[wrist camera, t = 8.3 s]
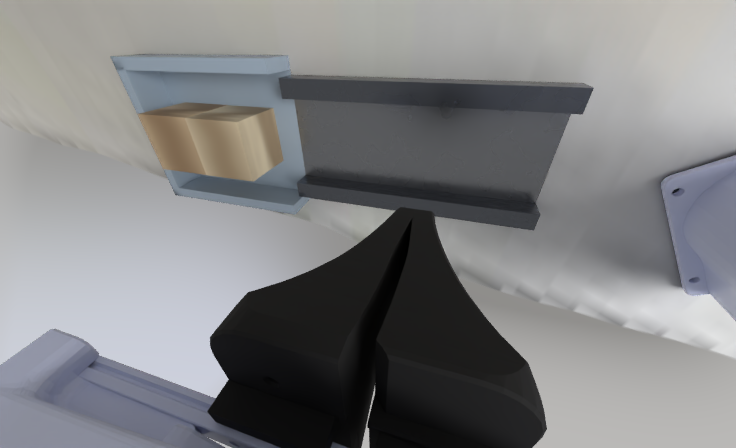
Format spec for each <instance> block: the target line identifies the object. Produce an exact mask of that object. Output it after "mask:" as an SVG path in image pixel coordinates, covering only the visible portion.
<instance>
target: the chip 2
mask: <svg viewBox="0 0 736 448" xmlns="http://www.w3.org/2000/svg"><path fill="white" fill-rule="evenodd" d="M185 120H186V123H187V125H188V128H189V131H190V133H191V136H192V139H193V141H194V144H195V147H196V149H197V152H198V155H199V157H200V160H201V162H202V165H203V168H204V170H205V173H206V175H209V176H216V177H223V178H231V179H238V180H245V181H253V182H254V181H255V180H256V179H258V178H259V177H261V176H262V175H264V174H265V173H266V172H268V171H269V170H271V169H272V168H274V167H275V166H276V165H278V164H279V163H281V162H282V161H284V160H283V155H282V150H281V144H280V139H279V134H278V129H277V124H276V119H275V114H274V109H273V108H266V107H249V106H233V105H226V106H223V107H220V108H216V109H213V110H210V111H206V112H203V113H200V114H196V115H193V116H190V117H186V118H185Z"/></svg>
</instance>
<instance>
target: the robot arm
mask: <svg viewBox="0 0 736 448" xmlns="http://www.w3.org/2000/svg"><path fill="white" fill-rule="evenodd" d="M678 188H680V190H679V191H678V192H676V193H672V192H673V191H674V190H675V189H678ZM661 190H662V194H663V199H664V204H665V208H666V213H667V218H668V222H669V227H670V232H671V236H672V241H673V246H674V250H675V255H676V260H677V264H678V269H679V274H680V278H681V283H682V288H683V290H684V291H685V292H686V293H687V294H688V295H692V296H698V295H705V294H711V295H712V296H713V297H714V298H715V299H716V301H717V302H718V303H719V304H720V305H721V306H722V307H723V308H724V309H725V310H726V311H727V312H728V313H729V314H730V315H731V317H732V318H733V319H734V320H735V321H736V155H734V156H731V157H728V158H725V159H721V160H718V161H715V162H712V163H708V164H705V165H702V166H699V167H696V168H692V169H689V170H686V171H683V172H679V173H676V174H673V175H670V176H668V177H666V178H665V179H664V180H663V181H662V182H661ZM434 215H435V214H434V213H433V212H432V211H426V210H419V209H412V208H405V207H400V208H398V209H397V210H396V211H395V212H394V213H393V214H392V215H391V216H390V217H389V218H388V219H387V220H386V221H385V222H384V223H383V224H382V225H381V226H379V227H378V228H377V229H376V230H375V231H374V232H373V233H371V234H370V235H369V236H368V237H366V238H365V239H364V240H362V241H361V242H360V243H358V244H357V245H356V246H354V247H353V248H351V249H350V250H348V251H347V252H345V253H344V254H342V255H340V256H339V257H337V258H335V259H333V260H331V261H329V262H327V263H325V264H323V265H321V266H319V267H317V268H315V269H313V270H311V271H309V272H306V273H304V274H301V275H299V276H296V277H294V278H292V279H289V280H286V281H283V282H281V283H277V284H274V285H271V286H267V287H264V288H261V289H258V290H255V291H251V292H248V293H247V294H246V295H245V296H244V298H243V299H242V300H241V301H240V302H239V303H238V304H237V305H236V306H235V307H234V309H233V310H232V311H231V312H230V313H229V315H228V316H227V317H226V318H225V320H224V321H223V322H222V323H221V325H220V326H219V327H218V328H217V329H216V330H215V332H214V333H213V334H212V336H211V337H210V346H211V349H212V352H213V354H214V356H215V358H216V359H217V361H218V363H219V364H220V366H221V367H222V369H223V371H224V372H225V374H226V376H227V377H228V379H229V380H228V382H227V383H226V385H225V386H224V388H223V389H222V390H221V392H220V394H219V395H218V396H217V398H213V397H210V396H207V395H205V394H202V393H199V392H196V391H194V390H191V389H188V388H186V387H183V386H180V385H178V384H175V383H172V382H169V381H167V380H164V379H161V378H159V377H156V376H153V375H151V374H148V373H145V372H143V371H140V370H137V369H134V368H132V367H129V366H126V365H124V364H121V363H118V362H116V361H113V360H110V359H107V358H104V357H102V356H99V353H98V352H97V351H96V349H94V348H93V347H92V346H91V345H90V344H89V343H87V342H86V341H84V340H83V339H80V338H79V337H76V336H73V335H70V334H68V333H65V332H62V331H59V330H56V329H51V330H49V331H48V332H46V333H45V334H43V335H42V336H41V337H39V338H38V339H36V340H35V341H34V342H32V343H31V344H30V345H28V346H27V347H25V348H24V349H22V350H21V351H20V352H18V353H17V354H15V355H14V356H13V357H11V358H10V359H8V360H7V361H6V362H4V363H3V364H1V365H0V448H225V447H223V446H221V445H220V444H218V443H216V442H214V441H213V440H215V441H218V442H220V443H223V444H225V445H227V446H230V447H232V448H361V446H362V441H363V437H364V432H365V428H366V423H367V418H368V413H369V409H370V405H371V400H372V395H373V391H374V386H375V396H374V400H373V404H372V409H371V412H370V416H369V420H368V428H369V441H370V448H532V447H533V446H534V445H535V444H536V443H537V442H538V441H539V440H540V439H541V438H542V437H543V435H544V433H545V431H546V429H547V427H546V421H545V414H544V408H543V405H542V401H541V398H540V395H539V392H538V389H537V386H536V383H535V380H534V378H533V375H532V372H531V369H530V367H529V364H528V363H527V361H526V360H525V359H524V358H523V357H521V355H520V354H519V353H518V352H517V351H516V350H515V349H514V348H513V347H512V346H511V345H510V344H509V343H508V342H507V341H506V340H505V339H504V338H503V337H502V336H501V335H500V334H499V333H498V332H497V330H496V329H495V328H494V327H493V326H492V325H491V323H490V322H489V321H488V320H487V319H486V317H485V316H484V315H483V313H482V312H481V311H480V309H479V308H478V307H477V305H476V304H475V303H474V302H473V300H472V299H471V298H470V296H469V295H468V293H467V292H466V290H465V289H464V287H463V286H462V284H461V283H460V281H459V279H458V277H457V276H456V274H455V272H454V270H453V269H452V267H451V265H450V263H449V261H448V258H447V256H446V254H445V252H444V249H443V247H442V244H441V241H440V239H439V236H438V233H437V229H436V225H435V218H434ZM693 277H695V278H693ZM691 278H692V279H691ZM207 437H208V438H207ZM209 438H211V439H213V440H211V439H209Z"/></svg>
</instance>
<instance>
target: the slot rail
mask: <svg viewBox="0 0 736 448" xmlns="http://www.w3.org/2000/svg"><path fill="white" fill-rule="evenodd" d="M278 79H279V84H280V90H281V96H282V99H294V101H295V108H296V115H297V121H298V128H299V134H300V141H301V148H302V154H303V161H304V167H305V174H306V175H305V176H304V177H303V178H302V179H300V180H299V181H298V182H297V187H298V193H299V196H300V197H307V198H314V199H321V200H328V201H335V202H342V203H349V204H355V205H362V206H369V207H376V208H383V209H390V210H397V209H398V208H400V207H405V208H412V209H419V210H426V211H432V212H433V213H434V214H435V215H434V216H438V217H445V218H452V219H459V220H466V221H473V222H480V223H486V224H493V225H500V226H507V227H514V228H521V229H528V230H534V228H535V226H536V223H537V221H538V219H539V216H540V213H539V211H538V209H537V206H536V204H535V203H536V200H537V198H538V195H539V193H540V190H541V188H542V185H543V183H544V180H545V178H546V175H547V173H548V170H549V168H550V165H551V163H552V160H553V158H554V155H555V153H556V150H557V148H558V145H559V143H560V140H561V138H562V135H563V133H564V130H565V127H566V125H567V122H568V120H569V117H570V115H571V114H583V112H584V110H585V107H586V105H587V103H588V100H589V98H590V96H591V93H592V91H593V87H591V86H588V85H586V84H584V83H561V82H525V81H490V80H454V79H419V78H383V77H348V76H312V75H288V76H284V77H280V78H278Z"/></svg>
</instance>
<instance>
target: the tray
mask: <svg viewBox="0 0 736 448" xmlns="http://www.w3.org/2000/svg"><path fill="white" fill-rule="evenodd" d="M110 57H111V59H112V61H113V63H114V65H115V67H116V70H117V72H118V74H119V76H120V78H121V80H122V82H123V84H124V87H125V89H126V91H127V93H128V95H129V97H130V99H131V101H132V104H133V106H134V108H135V110H136V112H137V114H140V113H144V112H148V111H152V110H156V109H160V108H164V107H168V106H172V105H176V104H180V103H184V102H189V103H205V104H221V105H233V106H249V107H266V108H273V109H274V114H275V119H276V124H277V129H278V134H279V139H280V144H281V150H282V155H283V160H284V161H282V162H281V163H279V164H278V165H276V166H275V167H274V168H272V169H271V170H269V171H268V172H266V173H265V174H264V175H262V176H261V177H259V178H258V179H256V180H255V181H254V182H253V181H245V180H238V179H231V178H223V177H216V176H209V175H203V174H196V173H189V172H181V171H174V170H167V169H164V172H165V174H166V176H167V178H168V180H169V182H170V184H171V186H172V188H173V191H174V193H175V195H180V196H185V197H191V198H198V199H205V200H210V201H216V202H223V203H229V204H234V205H241V206H247V207H253V208H259V209H265V210H271V211H277V212H283V213H290V214H296V213H297V212H298V211H299V210H300V209H301V208H302V207H303V206H304V205H305V203H306V202H307V201H308V200H309V199H310V198H307V197H300V196H299V193H298V187H297V182H298V181H299V180H300V179H302V178H303V177H304V176H305V175H306V174H305V167H304V161H303V154H302V148H301V141H300V134H299V128H298V121H297V115H296V108H295V101H294V99H282V96H281V90H280V84H279V79H278V78H280V77H284V76H288V75H291V72H290V65H289V59H288V56H286V55H179V54H141V55H125V56H110ZM140 121H141V120H140ZM148 138H149V137H148ZM156 155H157V154H156Z"/></svg>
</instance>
